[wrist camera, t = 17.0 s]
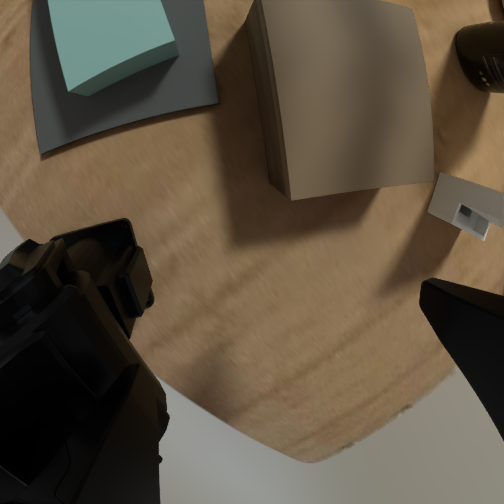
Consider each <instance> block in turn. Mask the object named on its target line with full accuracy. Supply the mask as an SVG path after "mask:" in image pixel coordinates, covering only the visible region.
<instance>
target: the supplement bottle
mask: <svg viewBox="0 0 504 504" xmlns="http://www.w3.org/2000/svg"><path fill="white" fill-rule="evenodd" d="M456 48H457V54H458V58H459V61H460V63H461V66H462V68H463V70H464V72H465V74H466V75H467V77H468V78H469V80H470V81H471V82H472V83H473V84H474V85H475V86H476V87H477V88H478V89H480V90H482V91H484V92H491V93H504V20H501V21H493V22H486V23H480V24H475V25H470V26H466V27H463V28H462V29H461V30H460V31H459V32H458V35H457V39H456Z"/></svg>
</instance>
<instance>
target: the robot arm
mask: <svg viewBox="0 0 504 504" xmlns="http://www.w3.org/2000/svg"><path fill="white" fill-rule="evenodd" d="M121 224H125V225H126V229H122V228H121ZM54 241H55V242H54ZM152 282H153V280H152V277H151V274H150V271H149V268H148V264H147V261H146V258H145V255H144V251H143V249H142V248H141V247H140V246H137V242H136V239H135V235H134V232H133V228H132V225H131V222H130V221H129V220H128V219H126V218H121V219H117V220H113V221H109V222H105V223H101V224H97V225H93V226H90V227H86V228H82V229H79V230H75V231H71V232H68V233H64V234H61V235H57V236H54V237H53V238H52V239H51V240H50V242H47V243H45V244H38V243H36V242H35V241H33V240H31V239H28V240H26V241H25V242H23V243H22V244H20V245H19V246H18V247H16V248H15V249H14V250H13V251H11V252H10V253H9V254H8V255H7V256H6V257H5V258H4V259H3V260H2V262H1V263H0V504H160V486H159V464H160V463H161V462H162V457H161V456H160V455H159V441H160V440H161V438H162V436H163V435H164V433H165V431H166V429H167V426H168V422H169V419H170V417H169V414H168V413H167V404H166V394H165V392H164V390H163V388H162V386H161V384H160V382H159V381H158V380H157V378H156V377H155V376H154V374H153V373H152V372H151V370H150V369H149V368H148V366H147V365H146V363H145V362H144V361H143V359H142V358H141V356H140V355H139V354H138V352H137V351H136V349H135V348H134V346H133V345H132V343H131V342H130V340H129V339H130V337H131V333H132V330H133V326H134V323H135V319H136V318H137V317H141V316H142V315H143V313H144V310H145V307H150V306H152V305H153V303H154V295H153V292H152V289H151V285H152ZM147 299H150V301H147ZM419 305H420V308H421V310H422V311H423V313H424V315H425V316H426V318H427V320H428V321H429V323H430V325H431V326H432V328H433V330H434V331H435V333H436V335H437V337H438V338H439V340H440V341H441V343H442V344H443V346H444V347H445V349H446V350H447V351H448V353H449V354H450V356H451V357H452V359H453V360H454V361H455V363H456V364H457V366H458V367H459V369H460V370H461V371H462V373H463V374H464V376H465V378H466V379H467V380H468V382H469V384H470V385H471V387H472V388H473V390H474V391H475V393H476V394H477V396H478V397H479V399H480V401H481V402H482V404H483V405H484V407H485V409H486V411H487V412H488V414H489V416H490V417H491V419H492V421H493V422H494V424H495V426H496V428H497V429H498V431H499V433H500V435H501V437H502V439H503V441H504V296H502V295H498V294H494V293H490V292H487V291H483V290H479V289H475V288H472V287H468V286H464V285H460V284H456V283H453V282H449V281H445V280H441V279H437V278H429V279H427V280H424V281H423V282H422V284H421V290H420V299H419Z"/></svg>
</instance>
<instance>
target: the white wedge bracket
mask: <svg viewBox="0 0 504 504" xmlns="http://www.w3.org/2000/svg"><path fill="white" fill-rule="evenodd" d="M427 212H428V213H430V214H432V215H434V216H436V217H438V218H440V219H442V220H444V221H446V222H448V223H450V224H452V225H454V226H456V227H458V228H460V229H462V230H464V231H466V232H468V233H470V234H472V235H474V236H475V237H477V238H479V239H481V240H483V241H484V240H485V237H486V234H487V232H488V229H489V226H490V223H493V224H495V225H497V226H499V227H501V228H503V229H504V193H501V192H499V191H496V190H493V189H491V188H488V187H485V186H482V185H479V184H476V183H473V182H470V181H467V180H464V179H461V178H458V177H455V176H451V175H448V174H445V173H441V172H440V174H439V177H438V181H437V184H436V187H435V190H434V193H433V196H432V199H431V202H430V205H429V208H428V211H427Z"/></svg>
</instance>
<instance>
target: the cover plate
mask: <svg viewBox="0 0 504 504" xmlns="http://www.w3.org/2000/svg"><path fill="white" fill-rule="evenodd" d="M48 5H49V11H50V17H51V22H52V27H53V33H54V37H55V42H56V47H57V51H58V55H59V59H60V63H61V67H62V71H63V75H64V78H65V82H66V86H67V89H68V91H69V92H73V93H77V94H80V95H84V96H88V97H89V96H91V95H92V94H94V93H96V92H98V91H100V90H102V89H103V88H105V87H107V86H109V85H111V84H113V83H115V82H117V81H119V80H121V79H123V78H126V77H128V76H130V75H132V74H134V73H136V72H139V71H141V70H143V69H145V68H148V67H150V66H153V65H155V64H157V63H160V62H163V61H165V60H168V59H170V58H173V57H176V56H178V55H179V52H178V49H177V45H176V42H175V39H174V36H173V34H172V31H171V28H170V25H169V22H168V20H167V17H166V14H165V11H164V9H163V6H162V3H161V0H48Z"/></svg>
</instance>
